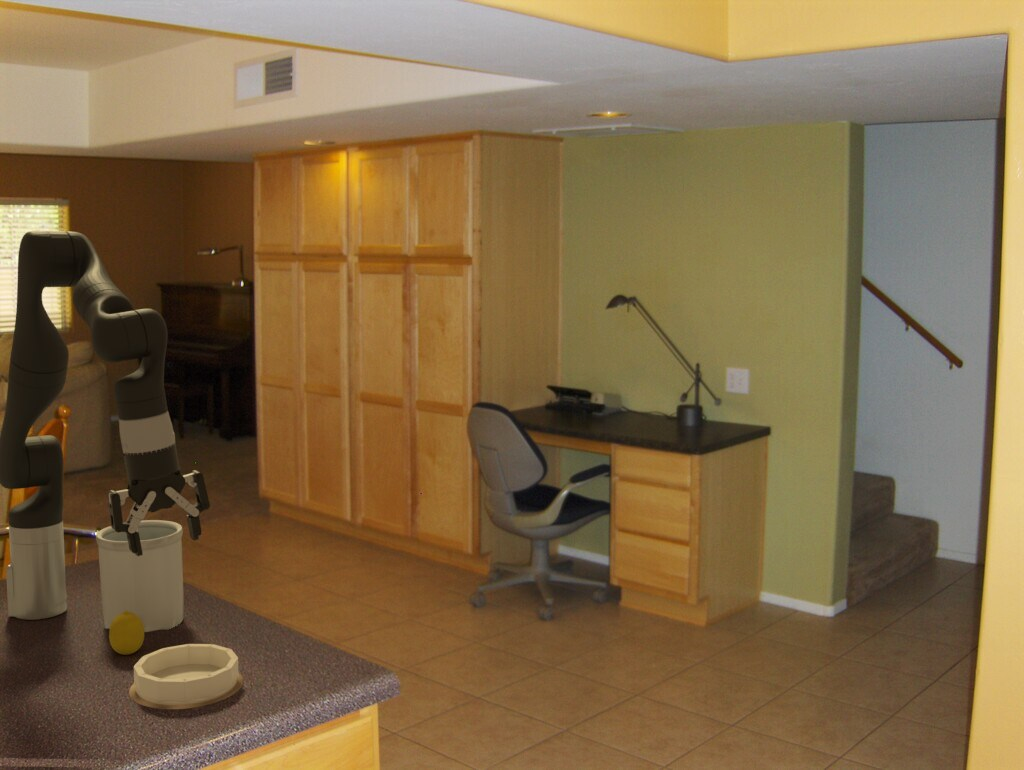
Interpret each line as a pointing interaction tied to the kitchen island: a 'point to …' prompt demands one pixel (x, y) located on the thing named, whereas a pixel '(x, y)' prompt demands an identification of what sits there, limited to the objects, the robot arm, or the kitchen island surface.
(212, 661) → the bowl
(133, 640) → the lemon
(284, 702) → the kitchen island surface
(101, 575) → the utensil holder
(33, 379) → the robot arm
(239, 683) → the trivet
